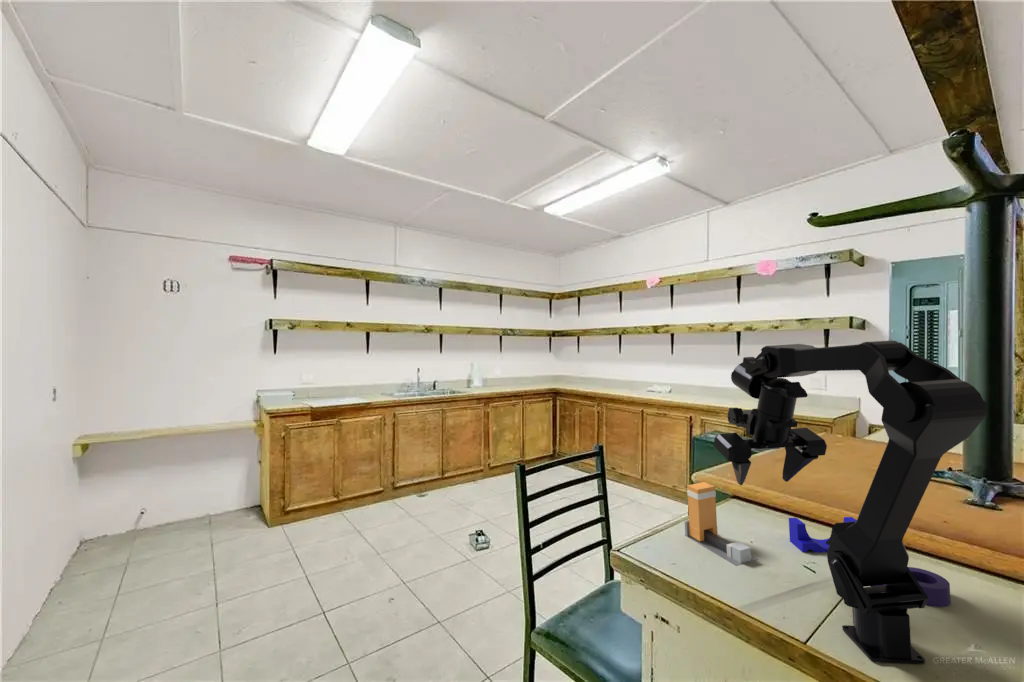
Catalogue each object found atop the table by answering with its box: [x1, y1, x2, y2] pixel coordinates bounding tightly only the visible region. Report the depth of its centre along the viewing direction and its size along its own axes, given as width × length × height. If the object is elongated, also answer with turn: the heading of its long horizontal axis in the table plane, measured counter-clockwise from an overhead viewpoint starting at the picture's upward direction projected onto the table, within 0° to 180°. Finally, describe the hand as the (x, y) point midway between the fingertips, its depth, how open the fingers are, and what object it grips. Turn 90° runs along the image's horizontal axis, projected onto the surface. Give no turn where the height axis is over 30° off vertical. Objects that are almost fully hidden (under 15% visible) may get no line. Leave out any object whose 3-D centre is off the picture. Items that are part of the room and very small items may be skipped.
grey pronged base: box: [684, 519, 759, 567], centre depth 86 cm, size 14×5×4 cm, turn 19°
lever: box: [870, 566, 951, 608], centre depth 71 cm, size 12×6×3 cm, turn 46°
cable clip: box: [788, 516, 857, 554], centre depth 84 cm, size 12×4×6 cm, turn 85°
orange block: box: [686, 481, 719, 541], centre depth 90 cm, size 3×5×11 cm
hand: (762, 482), depth 83 cm, fingers open, 9 cm apart
